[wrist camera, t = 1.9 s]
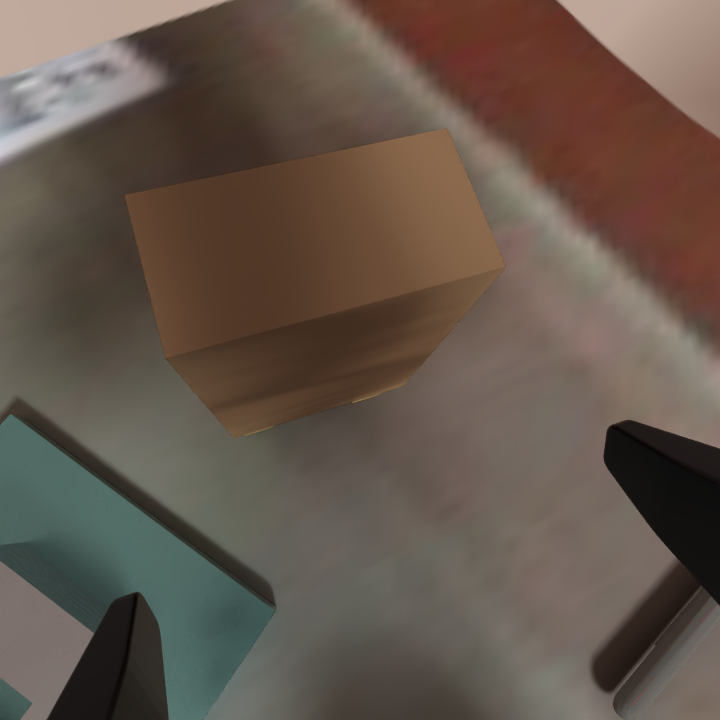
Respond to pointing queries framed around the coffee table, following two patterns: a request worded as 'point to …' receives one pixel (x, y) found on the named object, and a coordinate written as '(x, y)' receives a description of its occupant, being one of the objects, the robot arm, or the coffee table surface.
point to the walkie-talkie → (667, 656)
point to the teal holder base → (103, 583)
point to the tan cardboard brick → (313, 275)
